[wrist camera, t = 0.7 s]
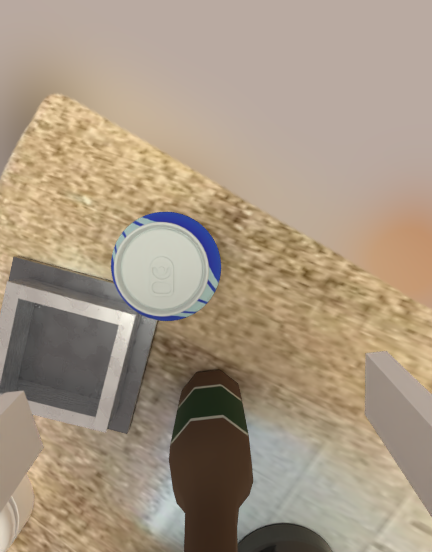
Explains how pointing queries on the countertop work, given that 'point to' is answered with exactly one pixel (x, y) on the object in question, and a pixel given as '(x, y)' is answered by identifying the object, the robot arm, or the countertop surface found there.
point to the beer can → (166, 266)
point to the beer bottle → (210, 461)
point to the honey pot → (16, 513)
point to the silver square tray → (72, 346)
